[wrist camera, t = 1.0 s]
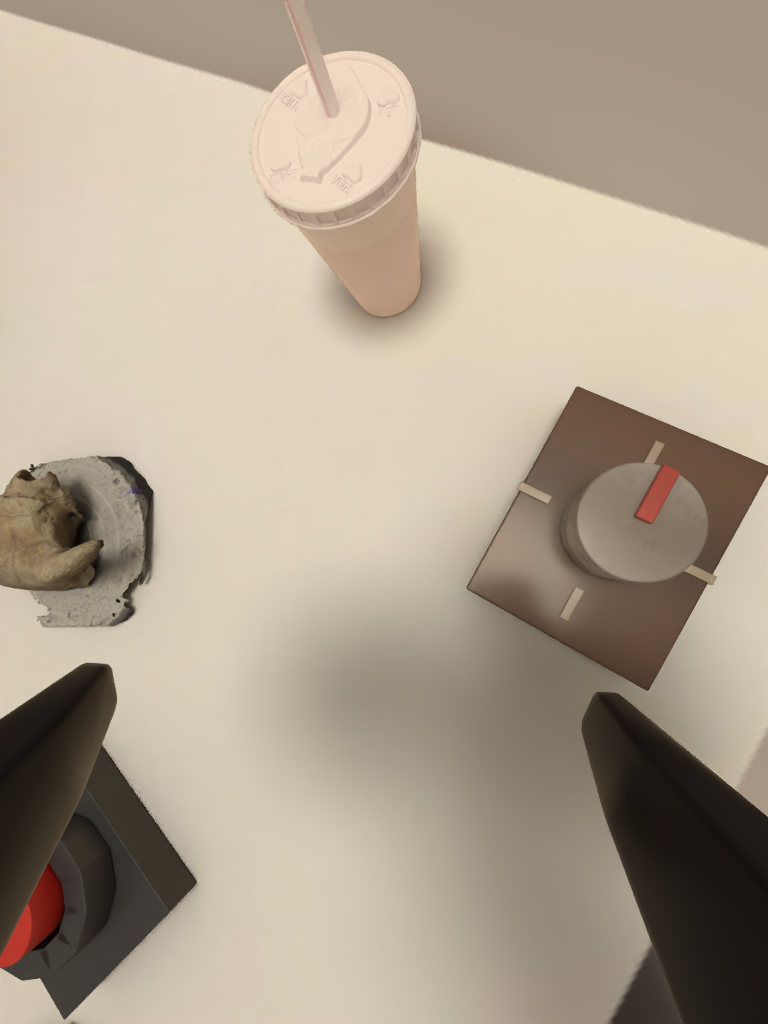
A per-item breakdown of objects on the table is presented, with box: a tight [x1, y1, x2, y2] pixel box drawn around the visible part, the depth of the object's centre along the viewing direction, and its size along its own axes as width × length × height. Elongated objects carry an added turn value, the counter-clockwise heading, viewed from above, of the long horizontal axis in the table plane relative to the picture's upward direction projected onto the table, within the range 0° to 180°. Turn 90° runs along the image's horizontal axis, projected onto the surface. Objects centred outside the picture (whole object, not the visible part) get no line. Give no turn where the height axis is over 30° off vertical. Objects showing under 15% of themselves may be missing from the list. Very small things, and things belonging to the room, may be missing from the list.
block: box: [2, 746, 196, 1019], centre depth 24 cm, size 10×8×4 cm
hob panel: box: [467, 387, 768, 690], centre depth 21 cm, size 10×8×3 cm
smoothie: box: [250, 0, 422, 317], centre depth 19 cm, size 6×6×14 cm
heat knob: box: [560, 463, 708, 583], centre depth 17 cm, size 4×4×4 cm
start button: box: [0, 862, 65, 968], centre depth 22 cm, size 4×4×2 cm
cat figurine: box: [0, 456, 153, 628], centre depth 26 cm, size 10×12×6 cm
